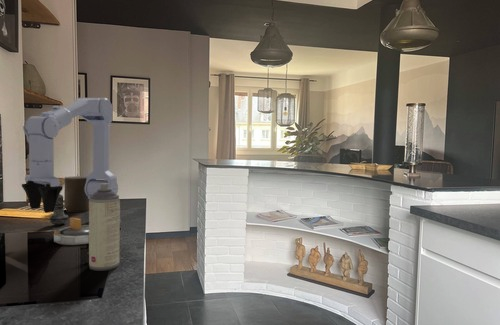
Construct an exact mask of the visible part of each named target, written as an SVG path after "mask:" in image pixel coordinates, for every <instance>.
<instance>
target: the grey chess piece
mask: <svg viewBox="0 0 500 325" xmlns="http://www.w3.org/2000/svg"><path fill="white" fill-rule="evenodd" d="M64 206H65V205H64V195H63V194H59V196H58V198H57V201H56V205H55V208H54V212H52V214H51V215H50V216H48V219H49V221H50V224H52V225H54V226H60V225H64V224H65V223H67V221H68V218H69V214H65V210H64Z"/></svg>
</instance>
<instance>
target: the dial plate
mask: <svg viewBox="0 0 500 325" xmlns="http://www.w3.org/2000/svg"><path fill="white" fill-rule="evenodd" d="M81 226H89V224H81ZM69 228H70V226H66V227H61V228H59V229H56V230H54V233H53V242H54V243H57V244H59V245H67V246H68V245H69V246H70V245H71V246H75V245H87V244H88V245H89V235H83V236H65V235H64V230H66V229H69Z"/></svg>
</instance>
